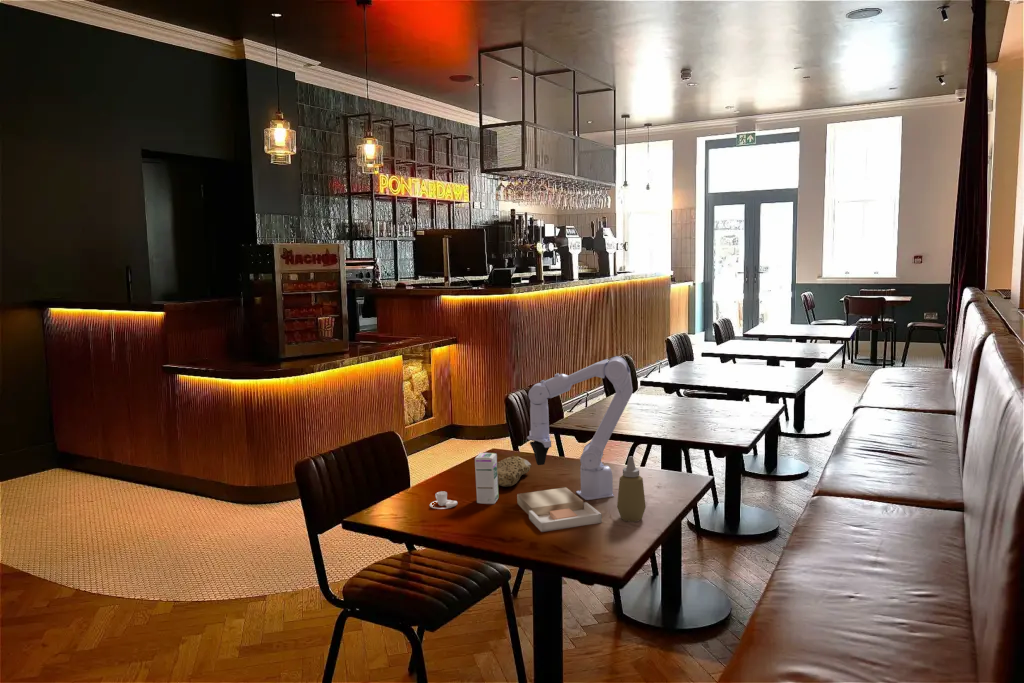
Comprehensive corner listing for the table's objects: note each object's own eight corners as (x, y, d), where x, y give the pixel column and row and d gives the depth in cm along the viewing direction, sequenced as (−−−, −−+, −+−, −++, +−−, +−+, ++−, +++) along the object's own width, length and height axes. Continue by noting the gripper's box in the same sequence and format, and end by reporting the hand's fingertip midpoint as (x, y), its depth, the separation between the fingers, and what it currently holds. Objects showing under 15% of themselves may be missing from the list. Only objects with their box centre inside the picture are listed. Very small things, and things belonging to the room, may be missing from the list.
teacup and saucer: (461, 507, 218) (460, 494, 217) (437, 513, 214) (436, 499, 213) (448, 499, 225) (448, 487, 225) (425, 504, 221) (424, 491, 221)
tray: (586, 510, 211) (586, 502, 211) (601, 522, 201) (601, 514, 201) (529, 519, 205) (528, 510, 205) (541, 532, 196) (541, 523, 195)
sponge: (506, 473, 252) (473, 478, 235) (511, 452, 252) (479, 454, 235) (537, 486, 245) (506, 491, 228) (543, 464, 245) (512, 467, 228)
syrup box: (495, 504, 218) (493, 457, 217) (476, 503, 220) (474, 457, 218) (498, 497, 224) (497, 452, 222) (480, 497, 225) (478, 452, 223)
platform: (566, 496, 223) (566, 487, 223) (583, 510, 211) (583, 500, 211) (517, 503, 218) (517, 494, 218) (531, 518, 206) (531, 508, 206)
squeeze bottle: (611, 516, 206) (610, 455, 204) (635, 511, 209) (635, 451, 207) (626, 525, 198) (626, 462, 196) (651, 520, 202) (651, 458, 199)
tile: (569, 513, 208) (569, 508, 208) (577, 520, 202) (577, 515, 202) (549, 516, 206) (549, 511, 206) (557, 523, 200) (557, 518, 200)
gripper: (520, 418, 230) (521, 459, 232) (535, 428, 216) (536, 472, 218) (540, 416, 232) (541, 457, 234) (557, 426, 218) (558, 469, 220)
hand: (540, 464), depth 226 cm, fingers closed
